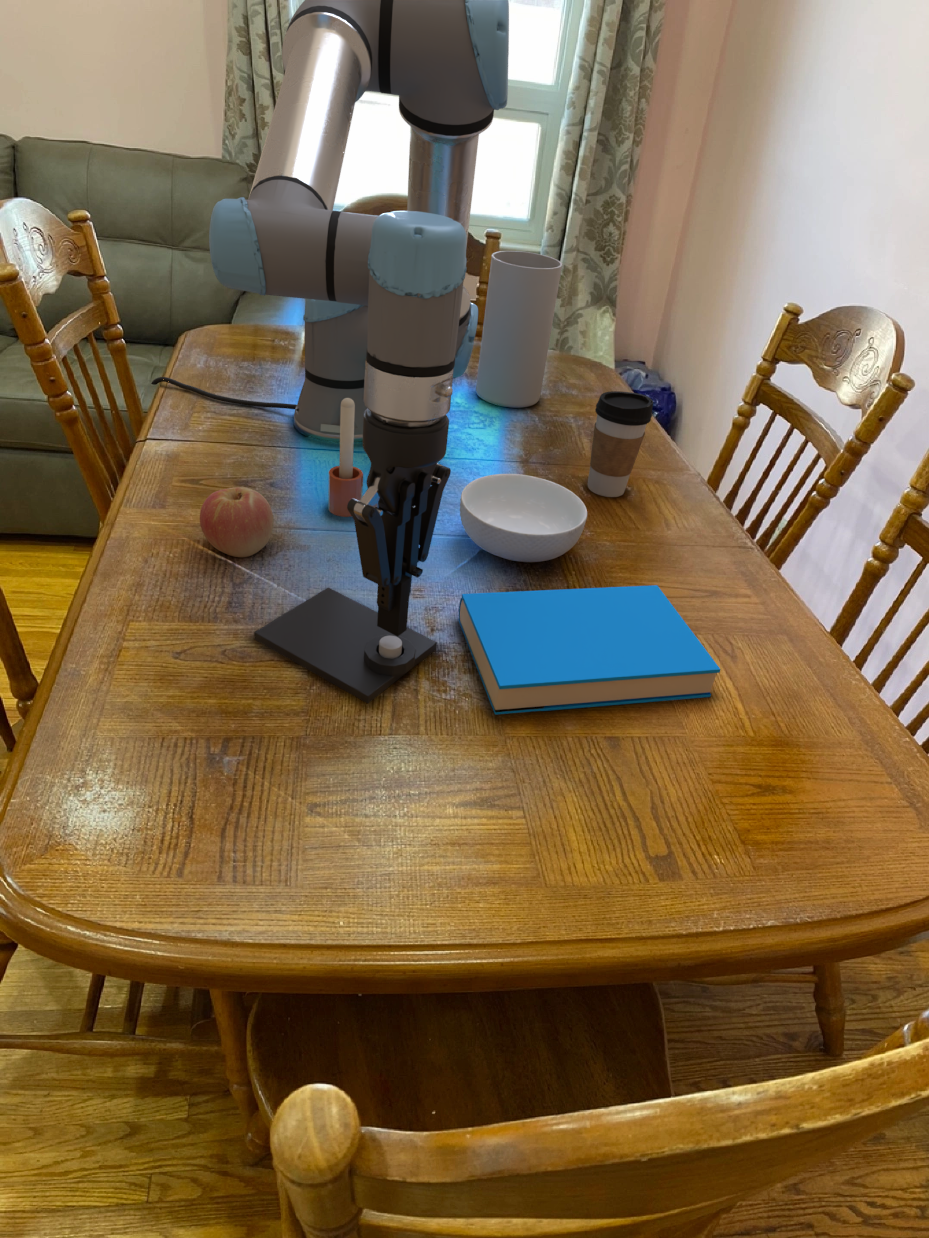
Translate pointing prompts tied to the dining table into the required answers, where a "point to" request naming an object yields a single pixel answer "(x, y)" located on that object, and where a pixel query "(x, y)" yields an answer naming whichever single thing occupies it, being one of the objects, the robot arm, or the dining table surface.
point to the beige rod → (346, 438)
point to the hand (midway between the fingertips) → (391, 627)
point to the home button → (390, 647)
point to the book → (583, 648)
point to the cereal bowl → (522, 517)
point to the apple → (237, 521)
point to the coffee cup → (617, 440)
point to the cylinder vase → (517, 327)
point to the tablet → (343, 644)
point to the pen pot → (343, 491)
